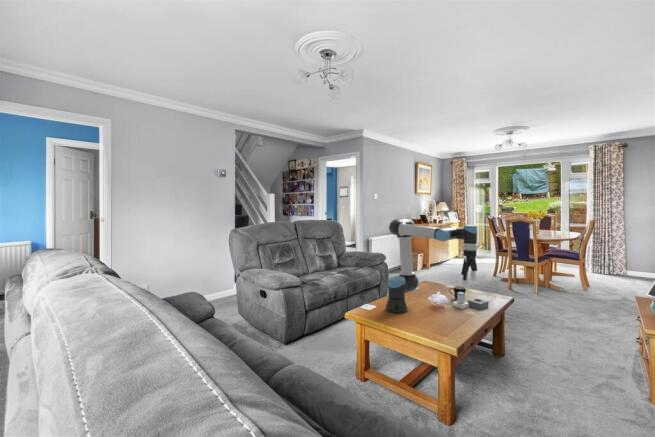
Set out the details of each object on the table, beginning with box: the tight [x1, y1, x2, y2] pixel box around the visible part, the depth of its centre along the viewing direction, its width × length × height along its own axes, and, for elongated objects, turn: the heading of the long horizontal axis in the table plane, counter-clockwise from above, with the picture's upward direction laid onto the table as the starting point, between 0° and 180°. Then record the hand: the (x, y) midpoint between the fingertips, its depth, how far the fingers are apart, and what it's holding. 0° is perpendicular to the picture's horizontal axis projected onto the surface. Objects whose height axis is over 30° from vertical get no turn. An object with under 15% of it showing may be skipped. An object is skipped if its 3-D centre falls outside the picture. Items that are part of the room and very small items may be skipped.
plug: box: [456, 292, 466, 304], centre depth 228 cm, size 4×4×10 cm
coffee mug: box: [448, 285, 467, 301], centre depth 246 cm, size 12×9×10 cm
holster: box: [452, 300, 470, 310], centre depth 228 cm, size 8×8×4 cm
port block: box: [467, 297, 489, 310], centre depth 228 cm, size 10×10×5 cm
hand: (469, 283), depth 198 cm, fingers open, 13 cm apart
